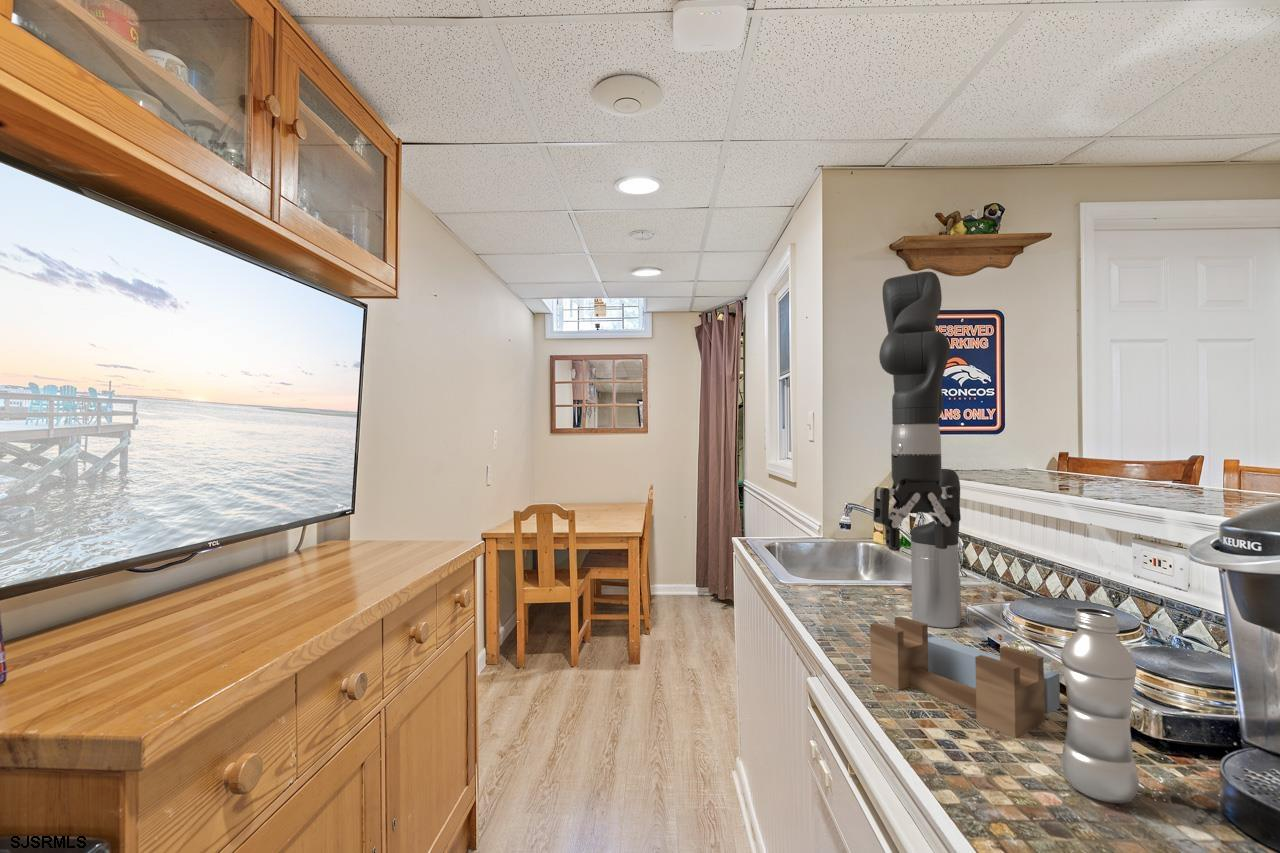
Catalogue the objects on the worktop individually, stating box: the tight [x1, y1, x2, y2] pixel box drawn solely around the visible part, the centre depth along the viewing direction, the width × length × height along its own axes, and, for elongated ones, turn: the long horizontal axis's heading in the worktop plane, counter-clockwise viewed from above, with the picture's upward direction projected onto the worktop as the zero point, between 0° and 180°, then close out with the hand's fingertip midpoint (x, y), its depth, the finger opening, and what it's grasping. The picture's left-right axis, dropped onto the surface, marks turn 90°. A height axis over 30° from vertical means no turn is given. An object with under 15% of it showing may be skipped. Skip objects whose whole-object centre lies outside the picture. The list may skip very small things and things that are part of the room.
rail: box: [928, 634, 1061, 715], centre depth 91 cm, size 4×20×5 cm, turn 31°
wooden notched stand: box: [869, 615, 1046, 739], centre depth 87 cm, size 8×22×9 cm, turn 31°
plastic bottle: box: [1060, 607, 1140, 805], centre depth 64 cm, size 6×7×20 cm
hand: (917, 549), depth 95 cm, fingers open, 8 cm apart
